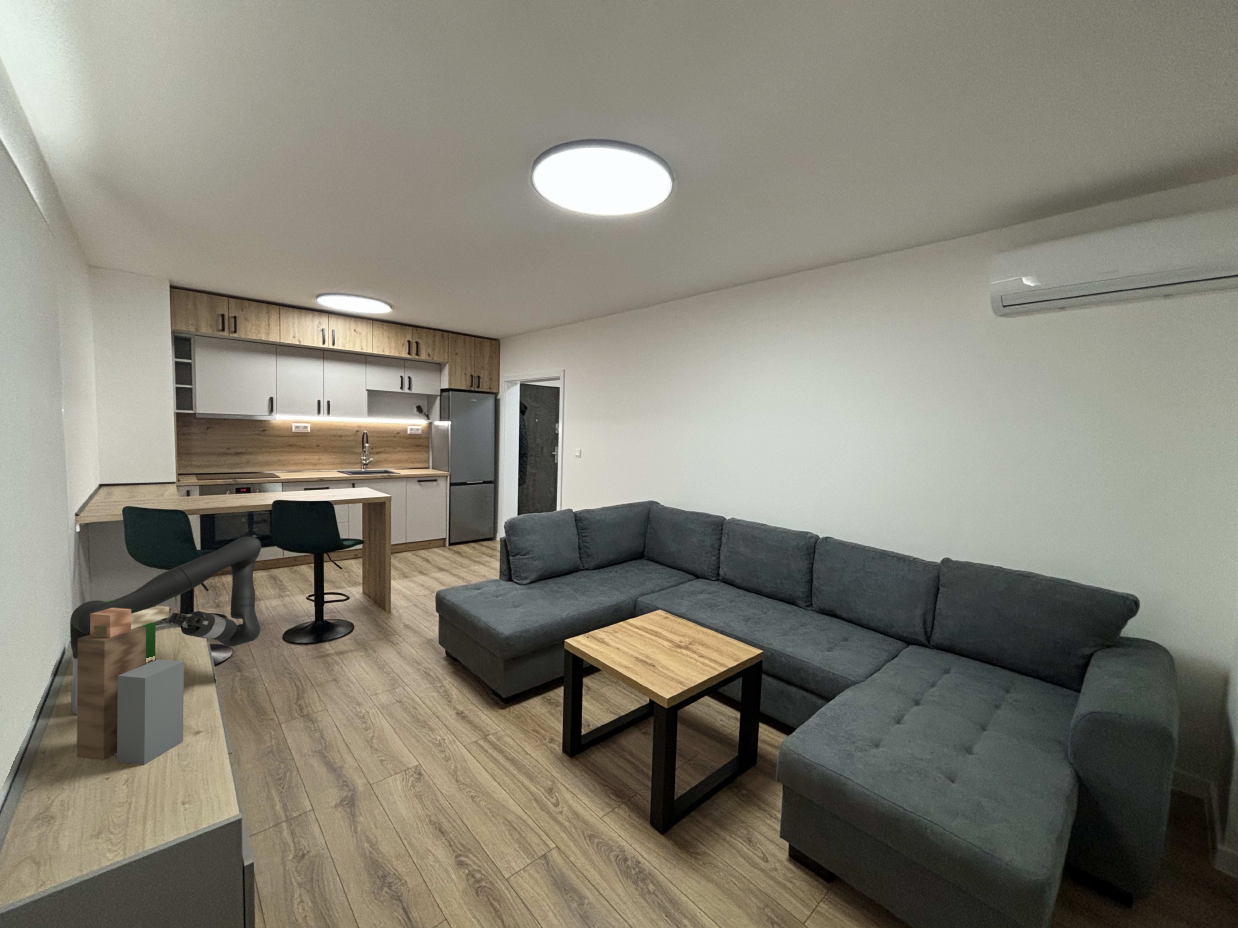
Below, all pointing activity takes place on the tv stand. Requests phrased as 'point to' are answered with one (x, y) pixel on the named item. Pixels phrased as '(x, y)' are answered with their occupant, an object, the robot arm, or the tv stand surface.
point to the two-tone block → (123, 620)
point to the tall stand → (103, 688)
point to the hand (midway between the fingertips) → (159, 615)
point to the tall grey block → (150, 711)
